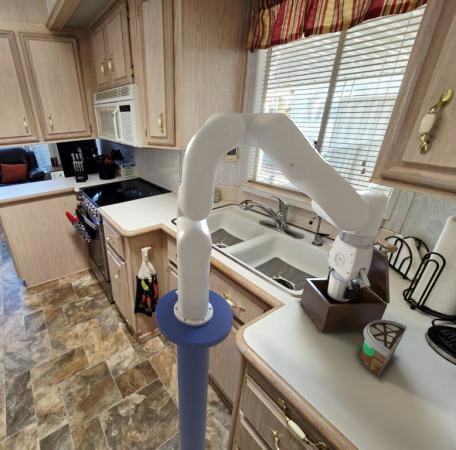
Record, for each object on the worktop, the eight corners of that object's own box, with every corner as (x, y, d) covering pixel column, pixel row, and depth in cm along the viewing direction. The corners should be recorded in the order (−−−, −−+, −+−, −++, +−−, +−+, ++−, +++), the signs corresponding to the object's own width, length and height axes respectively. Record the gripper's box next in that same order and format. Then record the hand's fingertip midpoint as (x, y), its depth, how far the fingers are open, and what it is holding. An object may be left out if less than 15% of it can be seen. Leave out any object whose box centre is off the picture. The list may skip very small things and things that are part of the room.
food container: (366, 337, 70) (377, 311, 66) (394, 353, 65) (408, 325, 61) (346, 361, 64) (356, 333, 60) (375, 380, 60) (389, 351, 55)
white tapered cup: (320, 287, 78) (325, 269, 76) (344, 287, 78) (350, 269, 75) (332, 302, 72) (338, 283, 69) (358, 303, 71) (365, 283, 69)
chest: (321, 331, 73) (329, 306, 69) (300, 302, 84) (305, 278, 80) (376, 330, 72) (387, 304, 68) (347, 300, 84) (355, 277, 80)
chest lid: (384, 256, 62) (411, 248, 61) (350, 233, 73) (372, 227, 72) (386, 303, 68) (410, 297, 67) (354, 276, 79) (374, 270, 78)
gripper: (323, 224, 75) (311, 273, 82) (366, 254, 59) (346, 311, 66) (349, 223, 74) (334, 272, 82) (398, 253, 59) (375, 310, 66)
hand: (340, 289), depth 74 cm, fingers closed on white tapered cup, 6 cm apart
